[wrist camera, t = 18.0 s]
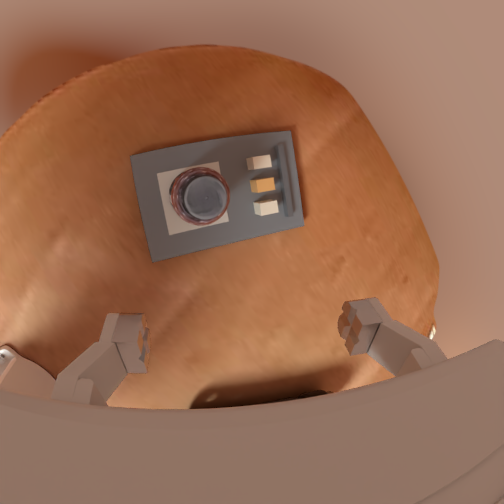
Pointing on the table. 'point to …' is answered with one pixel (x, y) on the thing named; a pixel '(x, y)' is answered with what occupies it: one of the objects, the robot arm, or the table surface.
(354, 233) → the table surface
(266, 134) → the breaker board
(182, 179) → the supplement bottle
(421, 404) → the robot arm
